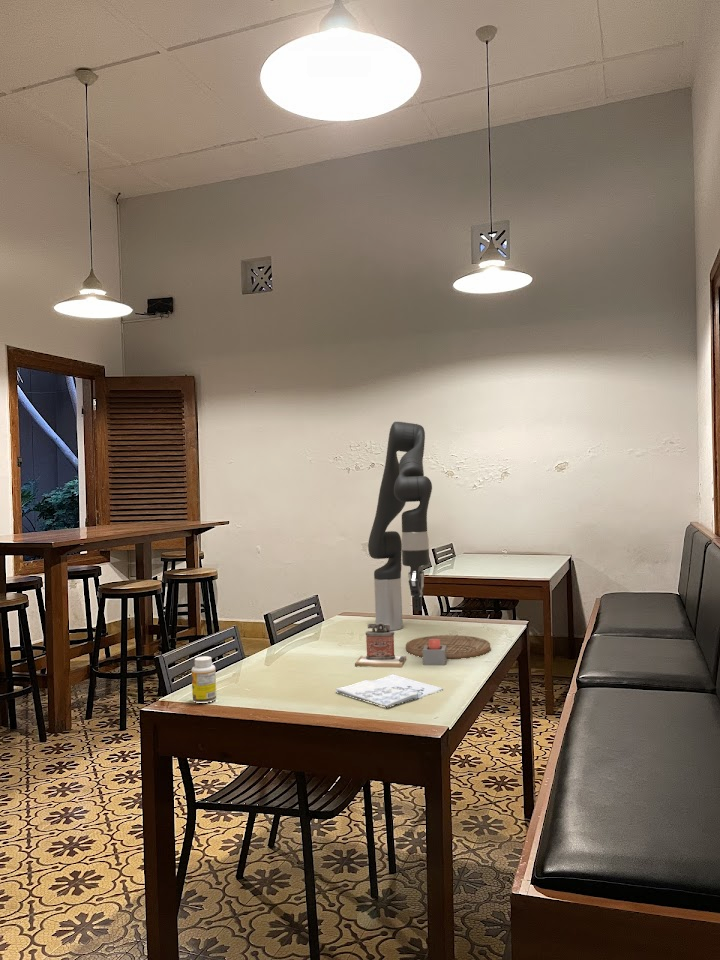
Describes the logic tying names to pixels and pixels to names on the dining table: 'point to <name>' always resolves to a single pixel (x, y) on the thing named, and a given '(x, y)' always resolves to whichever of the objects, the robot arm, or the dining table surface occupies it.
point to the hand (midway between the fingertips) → (417, 610)
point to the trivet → (452, 646)
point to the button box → (434, 655)
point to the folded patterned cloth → (388, 690)
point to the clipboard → (381, 662)
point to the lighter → (380, 642)
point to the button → (434, 643)
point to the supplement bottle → (203, 680)
